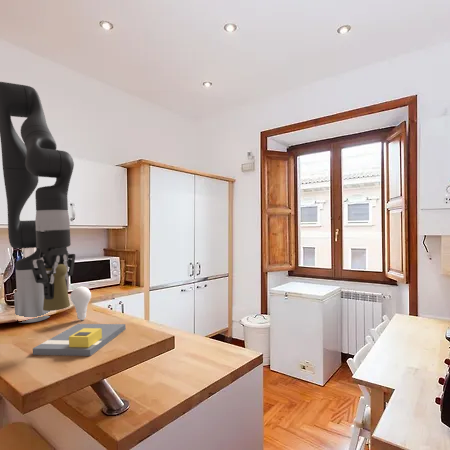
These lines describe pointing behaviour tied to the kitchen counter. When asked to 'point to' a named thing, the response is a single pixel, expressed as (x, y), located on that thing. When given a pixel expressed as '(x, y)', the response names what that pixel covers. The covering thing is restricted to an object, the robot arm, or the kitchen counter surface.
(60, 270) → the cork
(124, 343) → the kitchen counter surface
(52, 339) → the board
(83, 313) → the lightbulb
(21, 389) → the kitchen counter surface
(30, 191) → the robot arm
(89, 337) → the block
